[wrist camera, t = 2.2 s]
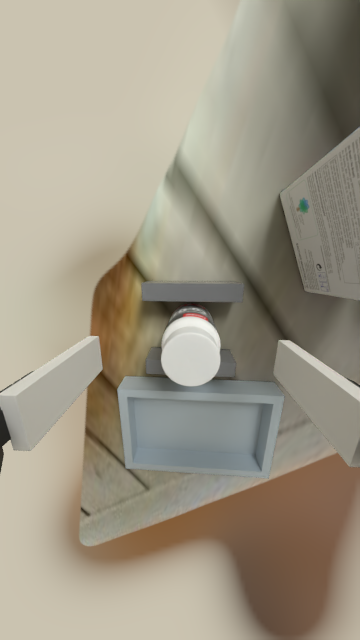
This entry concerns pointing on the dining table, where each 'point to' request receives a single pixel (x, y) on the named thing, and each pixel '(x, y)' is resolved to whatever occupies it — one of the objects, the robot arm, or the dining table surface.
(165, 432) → the parts tray
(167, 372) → the pill bottle
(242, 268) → the dining table surface
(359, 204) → the ink cartridge box
